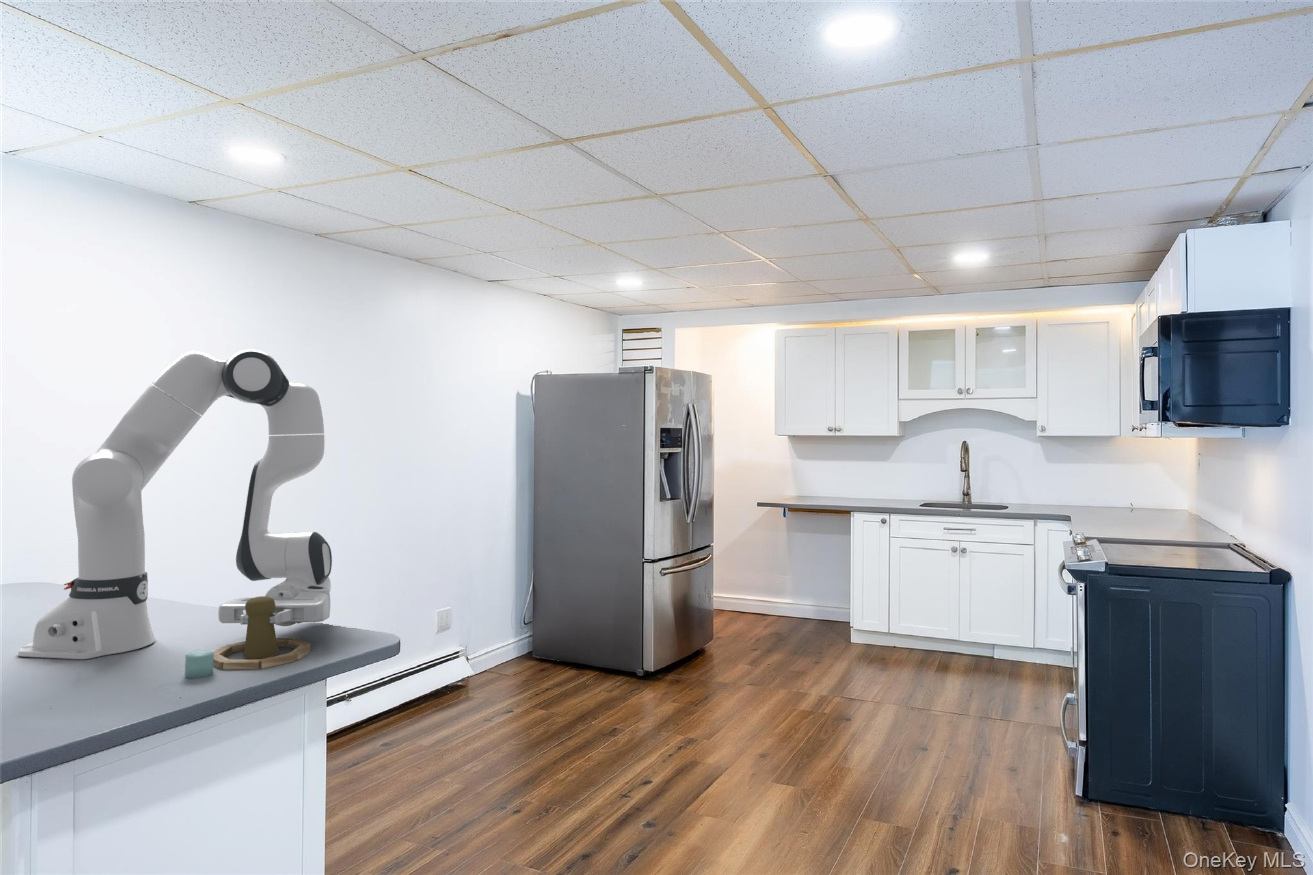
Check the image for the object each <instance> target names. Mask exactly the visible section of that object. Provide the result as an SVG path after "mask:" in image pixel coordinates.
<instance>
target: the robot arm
mask: <svg viewBox="0 0 1313 875" xmlns="http://www.w3.org/2000/svg"><path fill="white" fill-rule="evenodd" d="M224 396H227V397H229V398H231V399H232V398H233V399H235V400H237V401H239V402H243V403H247V404H257V405H260V406H261V407H262V408H263V409H264V410H265V413H266V416H267V422H268V444H267V447H266V451H265V453H264V455H263V456H262V458H261V459H258V460H257V461H256V462H255V463H254V466H253V468H252V470H251V475H250V479H249V482H248V483H249V484H248V489H247V496H246V503H245V511H244V517H243V523H242V524H243V525H242V530H241V535H240V539H239V542H238V545H237V546H238V547H237V550H236V556H235V565H236V568H237V570H238V571H239V572H240V574H242V575H243V576H244V577H246V578H247V579H248V580H250V581H252V582H255V581H264V580H271V579H285V580H283V581H282V582H280V583H278V584H275V585H274V586H273V587H271V588H270V589H269V590H268V591H267V592H266V594H265V595H264V596H267V597H271V598H273V600H274V601H275V610H274V612H273V613H272V614H271V615H270V618H269V619H270V624H274V625H276V626H278V627H279V626H280V627H289V626H294V625H295V624H297V625H298V624H301V623H320V622H321V623H322V622H324V621H326V620H328V619H329V618H330V615H331V594H330V592H331V588H332V585H331V584H332V583H331V579H330V574H331V572H332V565H333V563H332V562H333V557H332V550H331V547H330V545H329V543H328V541H327V540H326V539H325V538H324V537H323V536H322V535H321V534H320V533H319V532H316V531H305V532H303V531H298V532H297V531H296V532H289V533H288V532H284V533H282V532H280V533H270V532H269V531H268V525H269V519H270V514H271V513H270V512H271V506H272V505H271V504H272V499H273V496H274V493H275V492H276V490H277V489H278V488H279V487H281V486H282V485H284V484H285V483H288V482H290V481H293V480H295V479H297V478H300V477H302V476H304V475H307V474H309V473H311V472H312V471H313V470H315V469H316V467H318V466H319V464H320V463H321V462H322V460H323V458H324V454H325V426H324V417H323V410H322V406H321V401H320V397H319V395H318V392H317V391H316V390H315V389H314V388H313V387H311V386H310V385H306V384H303V383H293V382H290V381H289V379H288V378H287V376H286V374H285V373H284V371H283V370H282V367H280V365H279V364H278V362H277V361H276V360H275V359H274V358H273V356H271V355H269V354H268V353H266V352H264V351H261V350H259V349H244V350H240V351H238V352H236V353H234V354H233V355H231V356H230V357H229V358H228V359H226V360H219V359H216V358H214V357H213V356H211V355H210V354H208V353H205V352H201V351H197V350H195V351H194V350H192V351H188V352H185V353H183V354H181V355H180V356H179V357H178V358H177V359H175V360H174V361H173V362H171V363H170V364H169V365H168V366H167V367H166V368H164V370H163V371H162V372H161V373H160V374H159V375H158V376H157V377H156V378H155V379H153V381H152V382H151V384H150V385H149V386H148V387H147V388H146V389H145V391H143V393H142V394H141V396H140V395H139V397H138V398H137V400H136V401H135V402H134V403H133V404H132V405H131V407H130V408H129V409H128V410H127V411H126V412H125V414H124V415H123V416H122V417H121V419H120V421H119V422H118V423H117V425H116V426H115V427H114V429H113V430H112V431H111V433H110V434H109V435H108V437H107V438H106V439H105V441H103V442H102V444H101V445H100V446H99V448H98V449H97V450H96V451H95V453H93V454H91V455H88V456H87V457H85V458H84V459H82V460H81V461H80V462H79V463H78V464H77V466H76V467H75V468H74V470H73V473H72V478H71V484H72V485H71V486H72V498H73V501H72V502H73V508H74V509H73V510H74V519H75V527H76V533H77V535H76V536H77V560H78V561H77V564H78V571H77V573H78V574H77V575H78V576H77V577H76V578H75V579H73V580H71V581H69V582H66V583H64V584H63V586H65V587H64V588H63V590H64V591H66V590H70V592H69V594H68V597H67V598H65V599H64V600H63V601H62V602H60V604H58V605H57V606H55V607H54V608H52V609H51V610H50V611H48V612H47V613H46V614H44V615H43V616H41V618H39V619H38V621H37V622H36V624H35V628H34V632H33V636H32V642H29V643H27V644H25V645H24V646H22V647H20V648H19V649H18V651H17V652H18V653H17V656H18V657H29V658H47V659H48V658H50V659H51V658H52V659H53V658H54V659H69V660H70V659H71V660H87V659H89V660H90V659H93V658H96V657H102V656H106V655H112V654H113V655H114V654H121V653H126V652H128V651H129V652H130V651H134V650H138V649H141V648H144V647H147V646H149V645H152V644H153V643H155V642H156V637H155V635H154V631H153V629H152V625H151V621H150V620H151V619H150V617H149V611H148V609H149V608H148V596H149V585H148V584H149V579H148V572H147V571H146V561H145V560H146V553H145V552H146V551H145V550H146V544H145V541H146V540H145V539H146V537H145V527H144V516H143V502H142V501H143V500H142V490H143V489H145V487H146V486H147V485H148V483H149V482H150V481H151V480H152V479H153V477H154V476H155V474H156V473H157V472H158V471H159V470H160V469H161V467H162V466H163V465H164V463H165V462H166V461H167V460H168V459H169V457H170V456H171V454H173V452H174V451H175V449H177V447H178V446H179V445H180V443H182V441H183V440H184V439H185V438H186V436H187V435H188V434H189V433H190V432H191V430H192V429H193V428H194V426H195V425H196V424H197V423H198V421H200V419H201V418H202V417H203V416H204V414H205V413H206V412H207V410H209V408H210V407H211V406H212V405H213V404H214V403H215V402H216V401H218V399H220V398H222V397H224ZM251 598H252V597H240V598H235V599H231V600H229V601H226V602H223V603H221V604H220V605H219V606H218V612H217V613H218V621H219V622H220V623H221V624H240V625H241V626H242V625H248V617H249V616H248V615H247V614H246V610H245V605H246V603H247V601H248V600H249V599H251Z"/></svg>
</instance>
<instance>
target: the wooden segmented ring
mask: <svg viewBox="0 0 1313 875" xmlns="http://www.w3.org/2000/svg"><path fill="white" fill-rule="evenodd" d="M276 640H277V646H278V647H289V648H291V649H293V650H292V651H291V652H288V653H285V654H279V655H274V656H272V657H268V658H263V659H229V658H227V656H229V655H230V654H232V653H235V652H240V651H244V649H245V641H246V640H245V641H238V642H233V643H229V644H226V645H223V646H220V647H218V648H217V649H216V650H214V651H212V652H213V653H214V665H213V667H215V668H216V667H217V668H218V669H220V670H259V669H265V668H270V667H274V666H280V665H283V664H288V663H289V664H290V663H294V662H297V661H299V660H300V659H302V658H303V657H305V655H307V654H308V653H310V652H311V643H309V642H307V641H305V640H302V639H299V638H297V637H295V638H294V637H276Z"/></svg>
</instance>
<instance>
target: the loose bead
mask: <svg viewBox="0 0 1313 875" xmlns="http://www.w3.org/2000/svg"><path fill="white" fill-rule="evenodd" d="M213 652H214V651H210V650H197V651H196V650H195V651H192V652H188V653H186V654H185V661H184V662H185V663H184V665H185V666H184V667H185V668H184V676H185V678H187V679H201V678H206V677H209V676H212V675H213V674H214V653H213Z"/></svg>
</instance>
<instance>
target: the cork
mask: <svg viewBox="0 0 1313 875" xmlns="http://www.w3.org/2000/svg"><path fill="white" fill-rule="evenodd" d="M250 598H251V599H249V600H248V601H247V603H246V605H245V610H246V614H247V615H248V616H249V617H248V624H246V626H247V627H246V634H245V649H244V650H243V657H244V658H245V659H246V660H257V659H265V658H269V657H274V656H277V654H279V646H277V640H276V638H277V636H276V635H277V634H276V630H275V624H270V619H269V618H270V615H271V614H272V613H273V612H274V610H275V601H274V600H273V598H271V597H267V596H265V595H264V596H263V595H261V596H254V597H250Z"/></svg>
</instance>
